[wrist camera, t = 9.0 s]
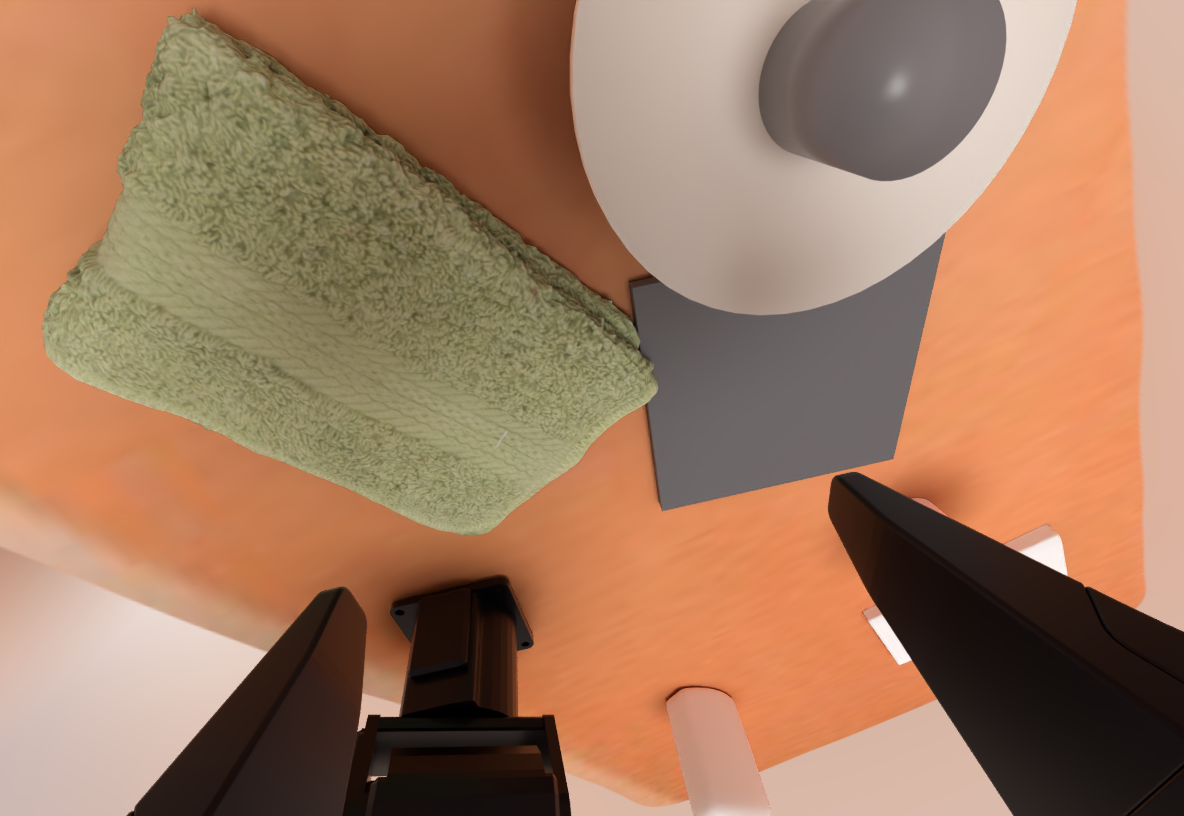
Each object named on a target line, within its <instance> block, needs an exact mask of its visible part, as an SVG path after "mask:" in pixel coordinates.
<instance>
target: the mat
mask: <svg viewBox="0 0 1184 816" xmlns="http://www.w3.org/2000/svg"><path fill="white" fill-rule="evenodd" d="M945 233H946V232H945ZM945 233H944V234H943V235H942V236H941V237H940V238H939V239H938V240H937V241H936V242H934V243H933V244H932V245H931V246H930V247H928V248H927V249H926V250H925V251H923V252H922V253H921V254H919V255H918V256H917V257H916V258H914V259H913V260H912V261H911V262H909V263H908V264H906V265H905V266H903V267H902V268H900V269H899V270H897V271H896V272H894V273H893V274H891V275H890V276H888V277H887V278H885V279H883V280H882V281H880V282H878V283H876V284H874V285H872V286H870V287H868V288H866V289H865V290H863V291H861V292H859V293H856V294H854V295H852V296H849V297H847V298H844V299H842V300H839V301H837V302H834V303H831V304H828V305H824V306H821V307H817V308H814V309H810V310H806V311H800V312H794V313H788V314H777V315H750V314H738V313H732V312H728V311H723V310H719V309H714V308H711V307H708V306H706V305H703V304H700V303H698V302H695V301H693V300H690V299H688V298H686V297H684V296H683V295H681V294H679V293H677V292H676V291H674V290H672V289H670V288H669V287H667V286H666V285H665V284H663V283H662V282H661V281H659V280H658V279H657V278H656V277H651V278H647V279H642V280H637V281H633V282H629V284H630V292H631V299H632V306H633V314H634V321H635V328H636V329H637V332H638V336H639V339H640V344H639V348H638V350H639V351H640V353H641V355H642V356H643V357H645V358H646V359H647V360H648V361H650V362H651V363H653V364H654V369H653V370H652V371H651V372H652V374H653V375H654V376H655V377H656V379H657V382H658V391H657V393H656V394H655V395H654V396H653V397H652V398H651V400H650V401H649V402H647V403H646V409H647V416H648V424H649V431H650V438H651V446H652V453H653V460H654V468H655V475H656V482H657V490H658V497H659V503H660V506H661V509H662V511H665V510H669V509H674V508H678V507H682V506H687V505H691V504H696V503H700V502H705V501H709V500H713V499H718V498H722V497H727V496H731V495H736V494H740V493H745V492H749V491H753V490H758V489H762V488H767V487H771V486H776V485H780V484H784V483H789V482H793V481H798V480H802V479H807V478H811V477H816V476H820V475H824V474H829V473H833V472H838V471H842V470H847V469H851V468H855V467H860V466H864V465H869V464H873V463H878V462H882V461H887V460H891V459H893V458H894V454H895V449H896V445H897V441H898V436H899V432H900V428H901V423H902V419H903V415H904V410H905V406H906V402H907V397H908V393H909V389H910V384H911V380H912V376H913V371H914V367H915V363H916V358H917V354H918V350H919V345H920V341H921V337H922V332H923V328H924V324H925V319H926V315H927V311H928V306H929V302H930V298H931V293H932V289H933V285H934V280H935V276H936V272H937V267H938V263H939V259H940V254H941V250H942V246H943V241H944V237H945Z"/></svg>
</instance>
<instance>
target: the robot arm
mask: <svg viewBox="0 0 1184 816" xmlns="http://www.w3.org/2000/svg"><path fill="white" fill-rule="evenodd" d="M828 513H829V517H830V519H831V522H832V524H833V526H834V527H835V529H836V531H837V533H838V535H839V537H840V539H841V541H842V543H843V545H844V547H845V549H846V551H847V553H848V555H849V557H850V559H851V561H852V563H853V565H854V567H855V569H856V570H857V572H858V574H859V576H860V578H861V580H862V582H863V584H864V586H865V588H866V590H867V591H868V593H869V595H870V596H871V598H872V600H873V601H874V603H875V605H876V606H877V608H878V609H879V611H880V612H881V614H882V615H883V617H884V618H885V620H886V621H887V623H888V624H889V626H890V628H891V629H892V631H893V632H894V634H895V635H896V637H897V638H898V640H899V641H900V643H901V644H902V646H903V647H904V649H905V651H906V652H907V654H908V655H909V657H910V658H911V660H912V661H913V663H914V664H915V666H916V667H917V669H918V670H919V672H920V673H921V675H922V677H923V678H924V680H925V681H926V683H927V684H928V686H929V687H930V689H931V690H932V692H933V693H934V695H935V696H936V698H937V699H938V701H939V703H940V704H941V706H942V707H943V709H944V710H945V712H946V713H947V715H948V716H949V718H950V719H951V721H952V722H953V724H954V726H955V727H956V728H957V730H958V732H959V733H960V735H961V736H962V738H963V739H964V741H965V742H966V744H967V745H968V747H969V748H970V750H971V752H972V753H973V755H974V756H975V757H976V759H977V761H978V762H979V764H980V765H981V767H982V768H983V770H984V771H985V773H986V774H987V776H988V778H989V779H990V781H991V782H992V784H993V785H994V787H995V788H996V790H997V791H998V793H999V794H1000V796H1001V797H1002V799H1003V800H1004V802H1005V804H1006V805H1007V807H1008V808H1009V810H1010V811H1011V812H1012V814H1013V816H1184V632H1183V631H1181V630H1178V629H1176V628H1174V627H1172V626H1170V625H1167V624H1165V623H1163V622H1161V621H1159V620H1157V619H1154V618H1153V617H1150V616H1148V615H1146V614H1144V613H1142V612H1140V611H1138V610H1136V609H1134V608H1132V607H1130V606H1128V605H1126V604H1123V603H1121V602H1119V601H1117V600H1115V599H1113V598H1111V597H1109V596H1107V595H1105V594H1103V593H1101V592H1099V591H1097V590H1095V589H1093V588H1091V587H1084V585H1083V584H1082V583H1081V582H1079V581H1076V580H1074V579H1072V578H1070V577H1068V576H1066V575H1064V574H1062V573H1060V572H1058V571H1056V570H1054V569H1052V568H1050V567H1048V566H1046V565H1044V564H1042V563H1040V562H1038V561H1036V560H1034V559H1032V558H1030V557H1028V556H1026V555H1024V554H1022V553H1020V552H1018V551H1016V550H1014V549H1012V548H1010V547H1008V546H1006V545H1004V544H1002V543H1000V542H998V541H996V540H994V539H992V538H990V537H988V536H986V535H984V534H982V533H980V532H978V531H976V530H974V529H972V528H969V527H967V526H965V525H963V524H961V523H959V522H957V521H955V520H953V519H951V518H949V517H947V516H945V515H943V514H941V513H939V512H937V511H935V510H933V509H931V508H929V507H927V506H925V505H923V504H921V503H919V502H917V501H915V500H913V499H911V498H909V497H907V496H905V495H903V494H901V493H899V492H897V491H895V490H893V489H891V488H889V487H887V486H885V485H883V484H881V483H879V482H877V481H875V480H873V479H871V478H869V477H867V476H865V475H863V474H860V473H857V472H850V473H846V474H841V475H837V476H835V477H834V478H833V479H832V482H831V488H830V495H829V503H828ZM390 614H391V616H392V617H393V619H394V620H395V622H396V623H397V624H398V626H399V627H400V629H401V630H402V631H403V633H404V634H405V636H406V637H407V638H408V640H409V641H410V643H411V648H410V654H409V660H408V666H407V672H406V678H405V684H404V690H403V696H402V702H401V708H400V714H399V717H380V715H368V718H367V722H366V726H365V728H362V730H360V731H359V732H357V730H358V724H359V717H360V710H361V700H362V688H363V674H364V660H365V646H366V631H367V620H366V616H365V613H364V611H363V610H362V608H361V607H360V605H359V604H358V602H357V601H356V599H355V598H354V596H353V595H352V594H351V592H350V591H349V590H348V589H347V588H346V587H337V588H333V589H328V590H324V591H322V592H320V593H319V594H318V595H317V596H316V597H315V598H314V599H313V600H312V602H311V603H310V604H309V605H308V606H307V607H306V609H305V610H304V611H303V612H302V613H301V614H300V615H299V617H298V618H297V619H296V620H295V621H294V622H293V624H292V625H291V626H290V627H289V628H288V629H287V631H286V632H285V633H284V634H283V635H282V636H281V637H280V639H279V640H278V641H277V642H276V643H275V644H274V646H273V647H272V648H271V649H270V650H269V651H268V653H267V654H266V655H265V656H264V657H263V658H262V659H261V661H260V662H259V663H258V664H257V665H256V666H255V668H254V669H253V670H252V671H251V672H250V673H249V675H248V676H247V677H246V678H245V679H244V680H243V681H242V683H241V684H240V685H239V686H238V687H237V689H236V690H235V691H234V692H233V693H232V694H231V696H230V697H229V698H228V699H227V700H226V701H225V702H224V704H223V705H222V706H221V707H220V708H219V709H218V711H217V712H216V713H215V714H214V715H213V716H212V717H211V719H210V720H209V721H208V722H207V723H206V725H205V726H204V727H203V728H202V729H201V730H200V731H199V732H198V734H197V735H196V736H195V737H194V738H193V739H192V741H191V742H190V743H189V744H188V745H187V747H186V748H185V749H184V750H183V751H182V752H181V754H180V755H179V756H178V757H177V758H176V759H175V760H174V761H173V763H172V764H171V765H170V766H169V767H168V768H167V770H166V771H165V772H164V773H163V774H162V775H161V776H160V778H159V779H158V780H157V781H156V782H155V784H154V785H153V786H152V787H151V788H150V789H149V790H148V792H147V793H146V794H145V795H144V796H143V797H142V799H141V800H140V801H139V802H138V803H137V805H136V806H135V809H134V811H131V812H130V813H128V815H127V816H571V808H570V799H569V793H568V787H567V782H566V777H565V772H564V766H563V761H562V756H561V750H560V745H559V740H558V734H557V729H556V724H555V718H554V715H542V717H518V682H517V651H519V650H524V649H528V648H530V647H532V646H533V644H534V642H533V635H532V632H531V630H530V628H529V626H528V623H527V621H526V619H525V617H524V614H523V612H522V610H521V607H520V605H519V603H518V601H517V598H516V596H515V594H514V591H513V589H512V587H511V585H510V582H509V581H508V580H507V579H505V578H496V579H492V580H487V581H483V582H479V583H474V584H470V585H465V586H461V587H456V588H452V589H448V590H443V591H439V592H434V593H430V594H425V595H421V596H417V597H412V598H408V599H403V600H399V601H396V602H394V603H393V604H392V606H391V610H390ZM371 776H387V777H378V778H377V779H376V780H375V781H371Z"/></svg>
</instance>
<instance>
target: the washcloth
mask: <svg viewBox="0 0 1184 816" xmlns="http://www.w3.org/2000/svg"><path fill="white" fill-rule="evenodd" d="M167 21H168V24H169V25H168V27H166V28H165V29H164V31H163V34H162V37H161V39H160V40H159V41H158V44H157V47H156V58H155V60H154V63H153V64H152V65H151V69H152V71H151V72H150V73H148V75H147V78H146V86H145V90H144V91H143V96H142V102H141V105H142V108H143V117H144V118H143V119H142V121H141V123H140V124H139V125H137V126H135V127H134V128H133V129H132V130H131V131H130V132H131V134H132V135H130V136H129V138H128V141H127V143H126V144H125V146H124V149H123V152H122V153H121V154H120V155H119V156H118V161H119V163H118V166H117V172H118V174H119V175H120V177H121V179H122V185H123V186H124V187H123V191H122V192H121V194H120V196H119V198H118V200H117V202H116V205H115V209H114V210H113V212H112V215H111V217H110V220H109V222H108V229H107V231H106V232H105V234H104V237H103V240H100V241H98V242H96V243H95V244H93V245H92V246H91V247H90V248H89V250H88V252H86V253H84V254H83V255H82V256H81V258H80V260H79V261H78V265H77V266H76V267H75V268H74V269H72V270H70V271H69V272H68V273H67V278H68V280H67V282H66V283H64V284H62V286H61V287H60V288H59V289H58V290H57V291H55V292H54V293H52V295H51V297H50V299H49V303H48V308H47V309H46V311H45V312H44V314H43V315H44V317H45V319H44V321H43V325H42V330H43V344H44V348H45V351H46V353H47V355H48V357H49V358H50V359H51V360H52V361H53V362H54V363H55V364H56V366H57V367H59V368H60V369H62V370H63V371H65V372H66V373H68V374H69V375H70V376H71V377H72V378H73V379H76V380H78V381H81V382H84V383H87V384H89V385H91V386H94V387H96V388H99V389H101V390H104V391H106V392H109V393H111V394H114V395H116V396H119V397H121V398H124V399H128V400H130V401H132V402H135V403H138V404H141V405H145V406H147V407H150V408H153V409H156V410H163V411H167V412H170V413H172V414H175V415H177V416H181V417H184V418H186V419H188V420H191V421H192V422H194V423H196V424H199V425H202V426H203V427H204V428H205V429H207V430H211V431H216V432H218V433H220V434H222V435H224V436H226V437H228V438H230V439H231V440H233V441H234V442H236V443H238V444H240V445H242V446H244V447H246V448H248V449H250V450H251V451H253V452H255V453H258V454H261V455H264V456H267V457H270V458H273V459H276V460H279V461H282V462H284V463H286V464H288V465H290V466H293V467H295V468H297V469H300V470H302V471H305V472H307V473H310V474H312V475H315V476H317V477H320V478H323V479H325V480H328V481H330V482H332V483H335V484H338V485H340V486H342V487H344V488H347V489H349V490H352V491H354V492H356V493H358V494H360V495H362V496H364V497H366V498H368V499H369V500H371V501H373V502H375V503H378V504H381V505H383V506H385V507H387V508H389V509H391V510H392V511H394V512H396V513H398V514H400V515H403V516H405V517H407V518H409V519H411V520H413V521H415V522H418V523H420V524H423V525H425V526H428V527H431V528H434V529H437V530H441V531H445V532H455V533H456V534H458V535H460V534H464V535H472V536H474V535H478V534H486V533H487V532H489V531H491V530H492V529H493V528H495V527H496V526H497V525H498V524H499V523H501V522H502V521H503V520H504V519H505V517H506V516H507V515H508V514H509V513H511V512H512V511H513V510H514V509H516V508H517V507H519V505H520V504H522V503H524V502H525V501H526V500H528V499H529V498H530V497H532V496H533V495H534V494H535V493H538V491H539V490H541V489H542V488H543V487H544V486H546V485H548V484H549V483H550V482H551V481H553V480H554V479H556V478H558V477H559V476H561V475H562V474H563V473H565V472H567V471H568V470H569V469H571V468H572V467H573V466H575V465H576V464H577V463H578V462H579V461H580V460H581V458H582V457H583V455H584V454H585V452H586V450H587V449H588V447H589V446H590V445H591V444H592V443H593V442H594V441H595V440H596V439H597V438H598V437H599V436H600V435H601V434H602V433H603V432H604V431H605V430H607V429H608V428H609V427H610V426H612V425H613V424H614V423H616V422H617V421H618V420H619V419H621V418H622V417H624V416H625V415H627V414H629V413H631V412H632V411H635V410H637V409H638V408H640V407H641V406H643V405H645V404H646V403H647V402H649V401H650V400H651V398H652V397H653V396H654V395H655V394H656V393H657V391H658V382H657V379H656V377H655V376H654V375H653V374H652V372H651V371H652V370H653V369H654V364H653V363H651V362H650V361H648V360H647V359H646V358H645V357H643V356H642V355H641V353H640V351H638V350H637V349H638V348H639V344H640V339H639V336H638V332H637V329H636V328H635V326H634V325H633V323H632V322H631V320H630V319H629V318H630V316H629V315H625V314H624V313H622V312H621V311H619V310H618V309H617V308H616V307H615V306H614V305H613V304H612V300H606V299H602V298H601V296H600V295H598V294H597V293H595V292H592V291H591V290H590V289H588V288H587V287H586V286H585V285H583V284H581V283H580V281H579V280H578V278H577V276H575V275H574V274H572V273H571V272H570V271H569V270H566V269H565V268H563V267H561V266H560V265H558V264H557V263H556V262H554V261H552V260H551V259H550V258H549V256H547V255H544V254H542V253H541V252H539V251H537V248H536V247H535V246H532V245H527V244H525V243H524V242H523V240H522V238H521V236H520V234H519V233H517V232H516V231H514V230H513V229H512V228H509V227H508V226H507V225H506V223H504V222H502V221H500V220H499V219H497V218H496V217H494V216H493V215H492V214H491V213H490V212H489V210H487V209H485V208H483V207H482V205H481V204H480V203H477V202H474V201H472V200H470V199H469V198H468V197H467V196H465V195H464V194H461V195H460V193H459V191H458V190H457V189H455V187H454V186H453V184H452V183H450V182H449V181H448V180H447V179H446V178H445V177H444V176H442V175H441V174H438V173H437V172H436V171H435V170H431V169H429V168H428V167H422V166H421V165H420V164H419V162H418V160H417V159H416V158H415V157H414V156H412V155H410V154H409V152H408V151H406V150H405V148H404V147H403V145H402V144H400V143H399V142H397V141H395V140H394V139H393V138H392V137H391V136H389V135H378V134H376V133H375V132H374V131H373V130H372V129H371V128H370V127H369V126H368V125H367V124H366V123H365V122H364V120H363V119H362V118H359V117H357V116H356V115H354V114H353V113H351V112H350V111H349V110H348V108H347V107H346V106H345V105H344V104H342V103H340V102H339V101H337V100H331V98H330V96H329V95H327V94H322V93H320V92H319V91H316V90H315V89H314V88H313V87H308V86H307V85H306V84H304V83H303V82H301V80H300V79H299V78H297V77H296V76H295V74H293V73H291V72H289V71H288V70H287V69H286V68H285V67H284V66H282V65H281V64H280V63H279V62H278V60H277V59H276V58H274V57H272V56H270V55H268V54H266V53H264V52H263V51H261V50H260V49H258V48H255V47H254V46H253V45H251V44H249V43H246V42H245V41H244V40H237V39H235V38H234V37H232V36H231V35H229V34H226V33H225V32H223V31H222V30H221V29H220V28H219V27H218V26H217V25H215V24H212V23H210V22H208V21H207V20H206V19H205V18H204V17H202V16H200V15H199V14H198V12H197V11H196V9H195V8H193V13H192V14H191V13H186V14H184V15H181V17H180V19H178V18H176V17H173V16H171V17H170V16H168V18H167Z"/></svg>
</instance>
